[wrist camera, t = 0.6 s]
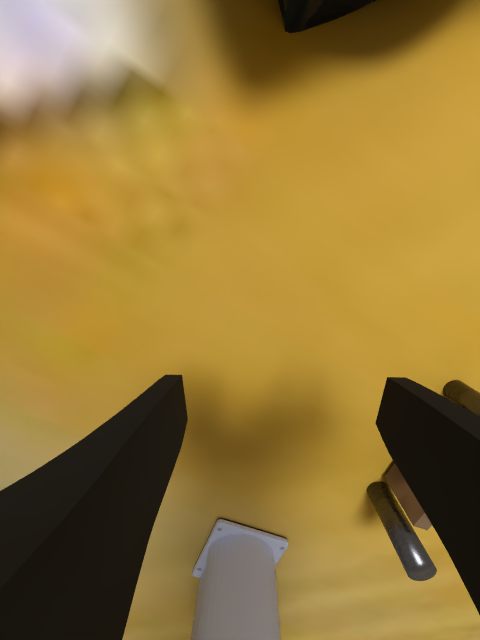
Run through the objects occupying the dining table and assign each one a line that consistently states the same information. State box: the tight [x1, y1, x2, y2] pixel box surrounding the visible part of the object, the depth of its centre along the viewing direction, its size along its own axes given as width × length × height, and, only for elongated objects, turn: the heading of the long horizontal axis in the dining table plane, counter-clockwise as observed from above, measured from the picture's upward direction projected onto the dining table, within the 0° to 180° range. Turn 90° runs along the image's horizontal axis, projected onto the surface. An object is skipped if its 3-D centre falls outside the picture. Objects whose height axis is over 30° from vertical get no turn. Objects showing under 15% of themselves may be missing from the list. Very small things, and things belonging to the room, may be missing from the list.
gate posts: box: [367, 380, 480, 581], centre depth 18 cm, size 14×2×6 cm, turn 160°
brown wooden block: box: [385, 463, 432, 530], centre depth 18 cm, size 8×2×4 cm, turn 160°
